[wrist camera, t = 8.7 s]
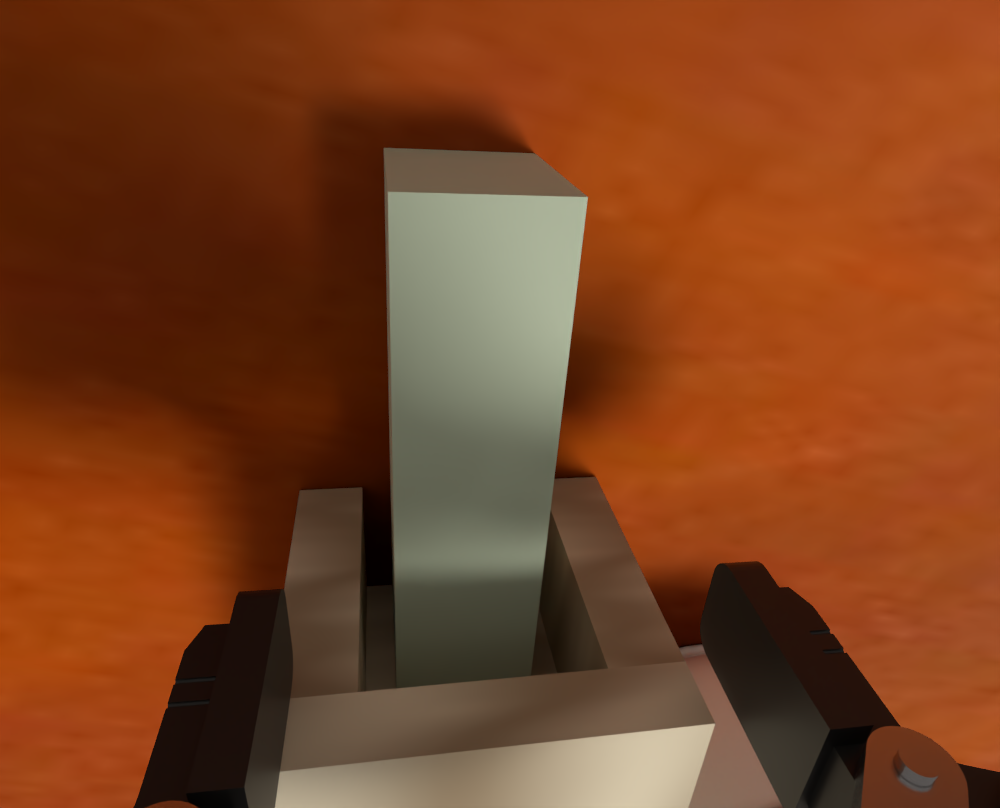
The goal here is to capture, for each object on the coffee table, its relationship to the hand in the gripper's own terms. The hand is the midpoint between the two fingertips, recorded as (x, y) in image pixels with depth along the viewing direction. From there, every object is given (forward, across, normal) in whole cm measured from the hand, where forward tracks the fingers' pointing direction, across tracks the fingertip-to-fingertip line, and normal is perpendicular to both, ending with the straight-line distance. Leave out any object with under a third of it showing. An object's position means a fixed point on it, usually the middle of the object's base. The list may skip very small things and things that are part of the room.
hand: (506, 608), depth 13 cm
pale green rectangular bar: (+6, 0, -1) cm, 6 cm away
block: (+6, 0, +4) cm, 7 cm away
